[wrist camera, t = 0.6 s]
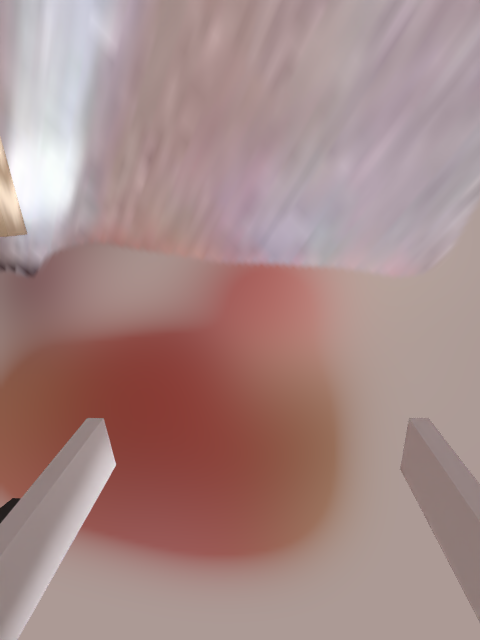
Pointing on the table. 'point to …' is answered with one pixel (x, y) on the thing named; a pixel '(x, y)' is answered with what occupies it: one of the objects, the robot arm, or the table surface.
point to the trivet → (9, 202)
